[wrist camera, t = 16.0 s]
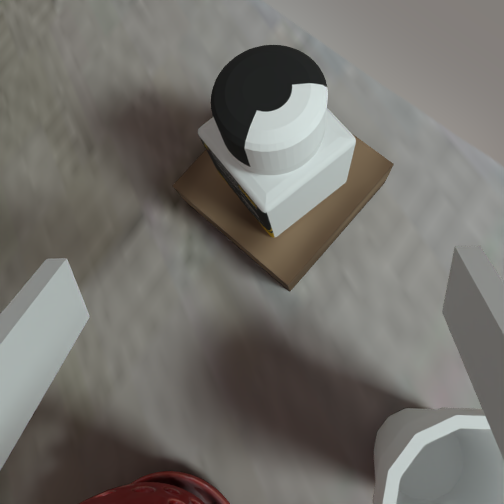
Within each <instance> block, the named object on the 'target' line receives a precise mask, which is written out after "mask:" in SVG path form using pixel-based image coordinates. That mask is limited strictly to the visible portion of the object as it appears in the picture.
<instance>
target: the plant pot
mask: <svg viewBox="0 0 504 504" xmlns="http://www.w3.org/2000/svg"><path fill="white" fill-rule="evenodd" d="M79 504H230V503H229V502H228V501H227V499H226V498H225V497H224V496H223V495H222V494H221V493H220V492H219V491H218V490H217V489H216V488H215V487H213V486H212V485H211V484H209V483H208V482H206V481H204V480H202V479H201V478H198V477H196V476H193V475H191V474H187V473H182V472H175V471H164V472H156V473H152V474H149V475H146V476H143V477H141V478H139V479H137V480H135V481H134V482H132V483H131V484H128V485H124V486H120V487H116V488H113V489H110V490H107V491H105V492H102V493H100V494H98V495H95V496H93V497H91V498H89V499H87V500H85V501H83V502H81V503H79Z"/></svg>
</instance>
